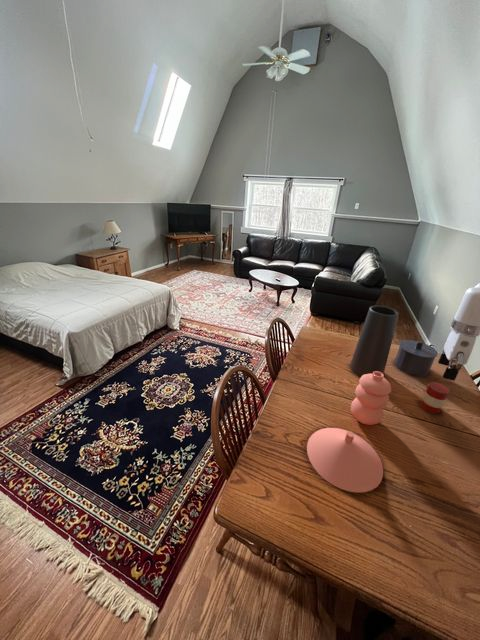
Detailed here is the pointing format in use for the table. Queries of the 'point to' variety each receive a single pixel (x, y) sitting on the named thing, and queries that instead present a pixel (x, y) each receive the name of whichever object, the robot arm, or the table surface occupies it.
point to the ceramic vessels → (352, 441)
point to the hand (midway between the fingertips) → (445, 371)
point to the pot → (413, 363)
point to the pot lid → (418, 349)
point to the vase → (374, 341)
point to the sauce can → (434, 397)
